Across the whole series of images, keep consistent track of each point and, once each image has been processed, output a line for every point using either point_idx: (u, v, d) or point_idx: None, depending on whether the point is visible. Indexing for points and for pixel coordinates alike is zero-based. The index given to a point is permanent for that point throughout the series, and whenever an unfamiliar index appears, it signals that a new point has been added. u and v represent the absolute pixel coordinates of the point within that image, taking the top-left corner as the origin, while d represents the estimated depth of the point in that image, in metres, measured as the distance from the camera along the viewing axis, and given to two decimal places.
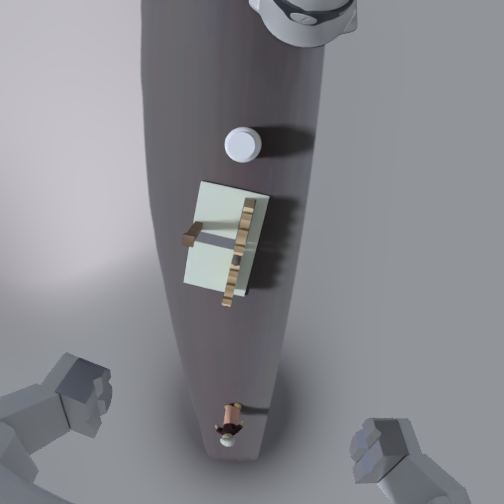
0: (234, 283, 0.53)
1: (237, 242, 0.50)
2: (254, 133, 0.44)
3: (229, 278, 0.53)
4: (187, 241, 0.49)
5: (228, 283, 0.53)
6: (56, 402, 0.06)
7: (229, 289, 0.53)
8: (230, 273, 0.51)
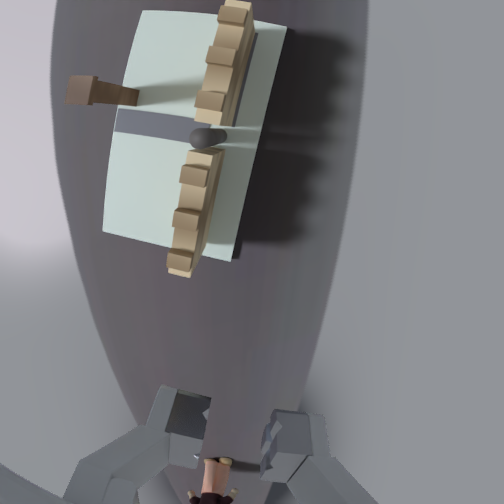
0: (198, 209, 0.19)
1: (206, 87, 0.16)
2: None
3: (184, 194, 0.18)
4: (76, 91, 0.15)
5: (183, 208, 0.19)
6: (166, 441, 0.06)
7: (183, 225, 0.18)
8: (185, 175, 0.17)
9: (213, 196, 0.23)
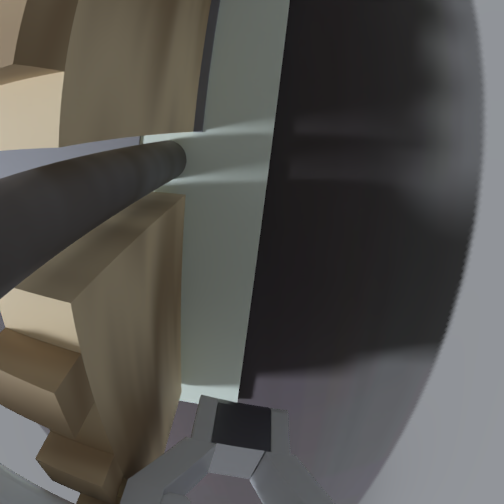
0: (102, 448, 0.05)
1: None
2: None
3: None
4: None
5: (65, 437, 0.05)
6: (211, 452, 0.07)
7: (75, 487, 0.04)
8: (0, 388, 0.03)
9: (169, 324, 0.09)
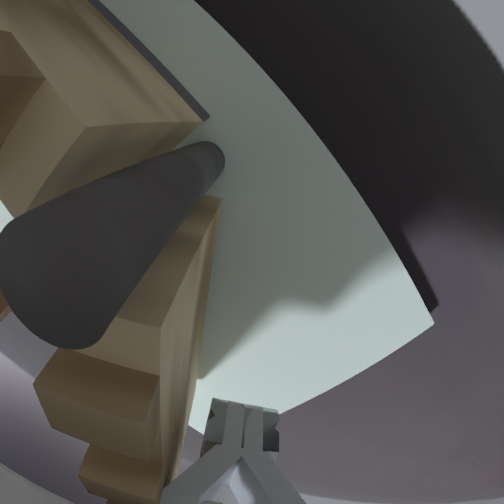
0: (151, 460, 0.05)
1: None
2: None
3: None
4: None
5: (107, 450, 0.05)
6: None
7: (117, 499, 0.04)
8: (59, 415, 0.03)
9: (199, 327, 0.09)
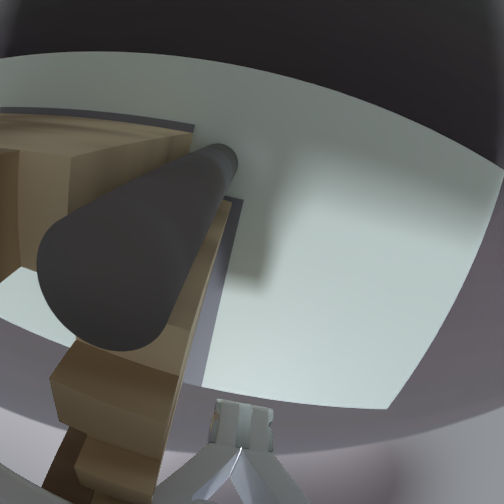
0: (149, 456, 0.05)
1: None
2: None
3: None
4: None
5: (104, 443, 0.05)
6: (236, 457, 0.07)
7: (111, 493, 0.04)
8: (72, 410, 0.03)
9: (196, 326, 0.09)
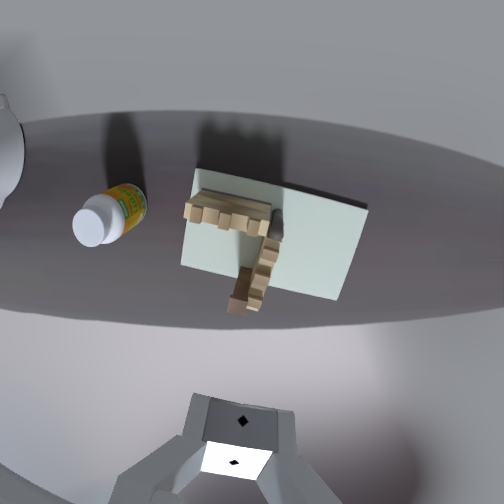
0: (269, 272, 0.31)
1: (244, 228, 0.30)
2: (84, 205, 0.30)
3: (261, 263, 0.31)
4: (237, 308, 0.31)
5: (259, 271, 0.31)
6: (203, 450, 0.07)
7: (260, 282, 0.31)
8: (265, 254, 0.30)
9: None
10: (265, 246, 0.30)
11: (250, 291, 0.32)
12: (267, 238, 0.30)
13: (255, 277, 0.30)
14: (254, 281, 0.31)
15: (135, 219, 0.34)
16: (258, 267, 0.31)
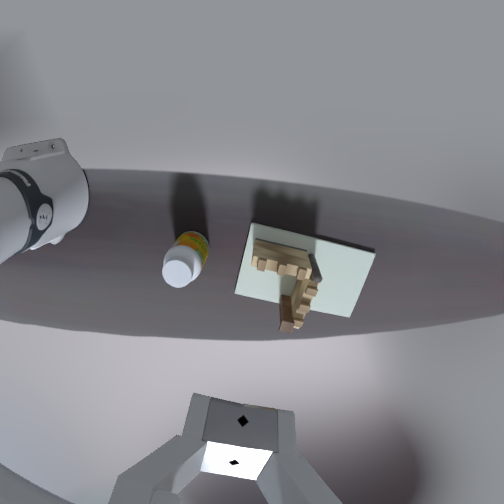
0: (309, 302, 0.44)
1: (294, 274, 0.42)
2: (168, 254, 0.42)
3: (304, 296, 0.43)
4: (287, 328, 0.44)
5: (302, 302, 0.44)
6: (203, 450, 0.07)
7: (303, 309, 0.43)
8: (308, 291, 0.42)
9: None
10: (308, 285, 0.43)
11: (294, 315, 0.45)
12: (309, 280, 0.43)
13: (300, 306, 0.43)
14: (299, 309, 0.43)
15: (204, 261, 0.46)
16: (302, 299, 0.44)
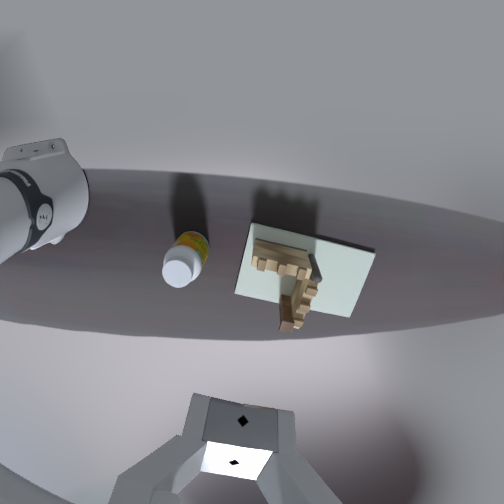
0: (309, 302, 0.44)
1: (294, 274, 0.42)
2: (168, 254, 0.42)
3: (304, 296, 0.43)
4: (287, 328, 0.44)
5: (302, 302, 0.44)
6: (203, 450, 0.07)
7: (303, 309, 0.43)
8: (308, 291, 0.42)
9: None
10: (308, 285, 0.43)
11: (294, 315, 0.45)
12: (309, 280, 0.43)
13: (300, 306, 0.43)
14: (299, 309, 0.43)
15: (204, 261, 0.46)
16: (302, 299, 0.44)
